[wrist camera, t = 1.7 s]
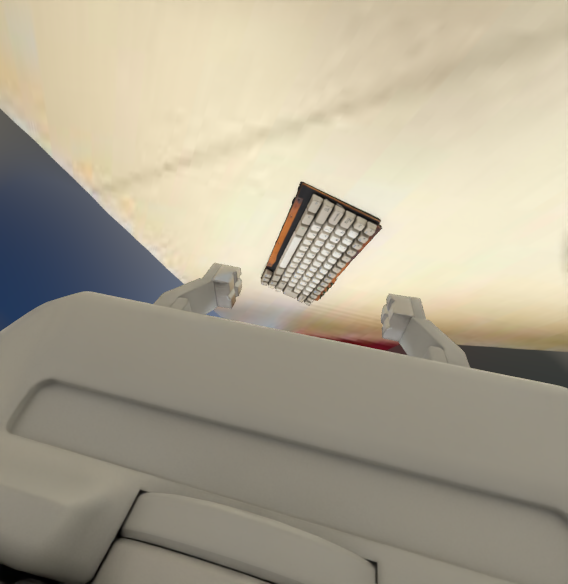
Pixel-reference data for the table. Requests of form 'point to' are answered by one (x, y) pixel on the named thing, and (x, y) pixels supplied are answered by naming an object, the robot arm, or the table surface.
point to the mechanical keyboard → (316, 244)
